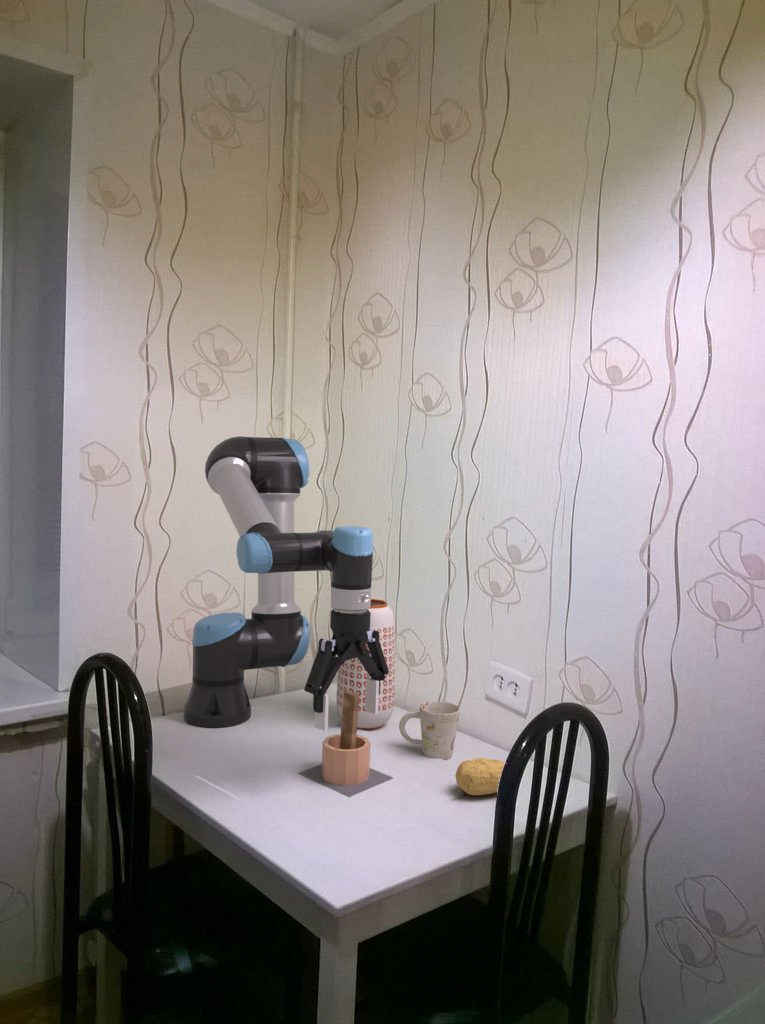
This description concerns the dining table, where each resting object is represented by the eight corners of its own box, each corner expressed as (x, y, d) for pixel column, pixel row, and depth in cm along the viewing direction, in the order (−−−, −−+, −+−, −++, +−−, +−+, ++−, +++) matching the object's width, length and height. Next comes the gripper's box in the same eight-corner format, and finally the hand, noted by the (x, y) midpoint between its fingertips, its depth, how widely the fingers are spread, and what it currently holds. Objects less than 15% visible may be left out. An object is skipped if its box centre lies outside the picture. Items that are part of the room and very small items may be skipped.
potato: (448, 787, 144) (449, 755, 144) (502, 782, 148) (504, 750, 147) (462, 803, 138) (463, 769, 138) (518, 798, 141) (520, 764, 141)
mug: (455, 764, 156) (457, 715, 155) (394, 757, 158) (395, 709, 157) (459, 749, 164) (461, 703, 163) (401, 742, 166) (403, 697, 165)
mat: (297, 775, 148) (297, 773, 148) (342, 758, 157) (342, 756, 157) (349, 799, 138) (349, 796, 138) (393, 779, 147) (393, 777, 147)
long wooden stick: (329, 769, 147) (335, 692, 146) (346, 763, 151) (351, 688, 150) (345, 777, 144) (351, 698, 143) (362, 771, 148) (367, 694, 147)
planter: (324, 721, 178) (327, 600, 176) (367, 710, 187) (371, 594, 184) (361, 738, 168) (366, 610, 166) (406, 725, 177) (410, 603, 175)
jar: (312, 774, 147) (313, 741, 147) (345, 762, 154) (346, 730, 153) (345, 789, 141) (346, 755, 141) (378, 776, 148) (379, 742, 147)
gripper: (315, 621, 133) (311, 742, 135) (409, 604, 152) (405, 710, 153) (286, 614, 138) (283, 730, 140) (381, 598, 157) (377, 701, 158)
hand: (347, 720), depth 147 cm, fingers open, 13 cm apart
